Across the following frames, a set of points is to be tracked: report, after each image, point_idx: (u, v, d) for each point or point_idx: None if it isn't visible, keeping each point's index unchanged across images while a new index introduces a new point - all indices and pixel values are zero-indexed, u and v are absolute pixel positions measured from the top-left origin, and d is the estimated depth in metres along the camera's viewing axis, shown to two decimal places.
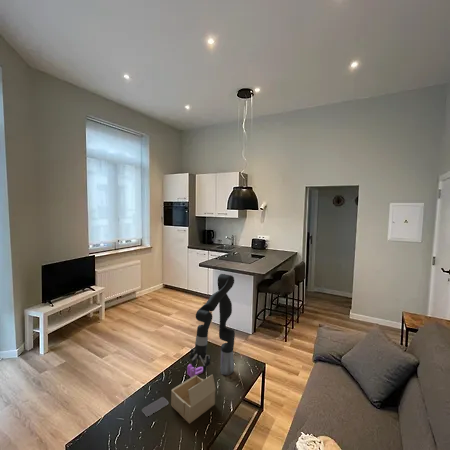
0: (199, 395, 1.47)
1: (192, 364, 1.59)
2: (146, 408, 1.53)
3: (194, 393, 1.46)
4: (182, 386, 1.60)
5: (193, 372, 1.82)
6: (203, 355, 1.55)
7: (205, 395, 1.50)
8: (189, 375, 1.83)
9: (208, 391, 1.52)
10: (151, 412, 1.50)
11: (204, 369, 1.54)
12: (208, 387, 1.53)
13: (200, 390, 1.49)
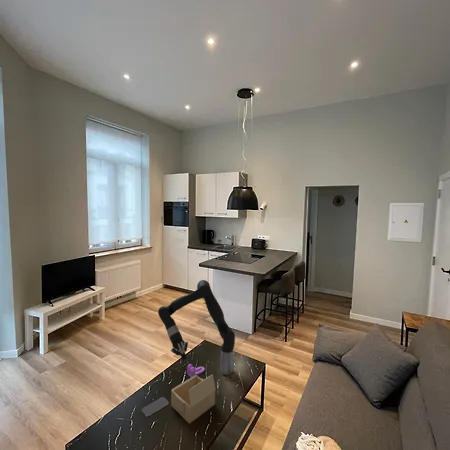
0: (199, 395, 1.47)
1: None
2: (146, 408, 1.53)
3: (194, 393, 1.46)
4: (182, 386, 1.60)
5: (193, 372, 1.82)
6: None
7: (205, 395, 1.50)
8: (189, 375, 1.83)
9: (208, 391, 1.52)
10: (151, 412, 1.50)
11: None
12: (208, 387, 1.53)
13: (200, 390, 1.49)
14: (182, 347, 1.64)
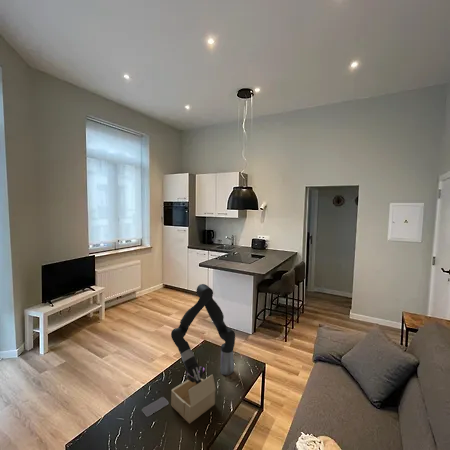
0: (199, 395, 1.47)
1: None
2: (146, 408, 1.53)
3: (194, 393, 1.46)
4: (182, 386, 1.60)
5: None
6: None
7: (205, 395, 1.50)
8: None
9: (208, 391, 1.52)
10: (151, 412, 1.50)
11: None
12: (208, 387, 1.53)
13: (200, 390, 1.49)
14: (197, 373, 1.53)
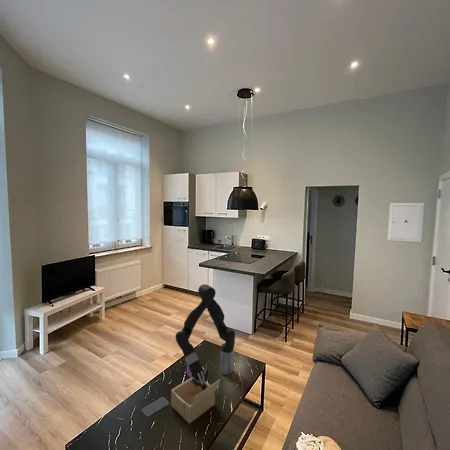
0: (201, 397, 1.46)
1: (204, 388, 1.49)
2: (146, 408, 1.53)
3: (198, 397, 1.43)
4: (182, 386, 1.60)
5: None
6: None
7: (206, 396, 1.50)
8: (189, 375, 1.83)
9: (209, 393, 1.51)
10: (151, 412, 1.50)
11: None
12: (211, 390, 1.51)
13: (204, 394, 1.46)
14: (202, 377, 1.50)
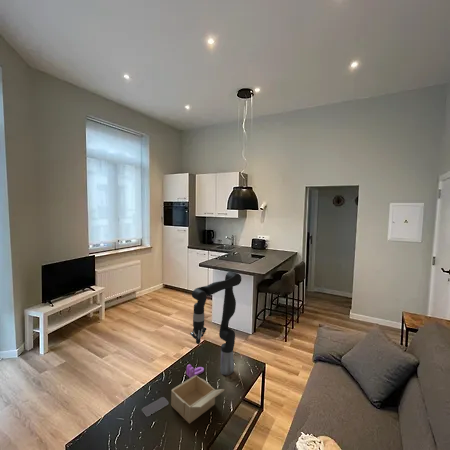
0: None
1: None
2: (146, 408, 1.53)
3: None
4: (182, 386, 1.60)
5: (192, 372, 1.82)
6: None
7: None
8: (188, 375, 1.83)
9: None
10: (151, 412, 1.50)
11: None
12: None
13: None
14: (200, 333, 1.69)
